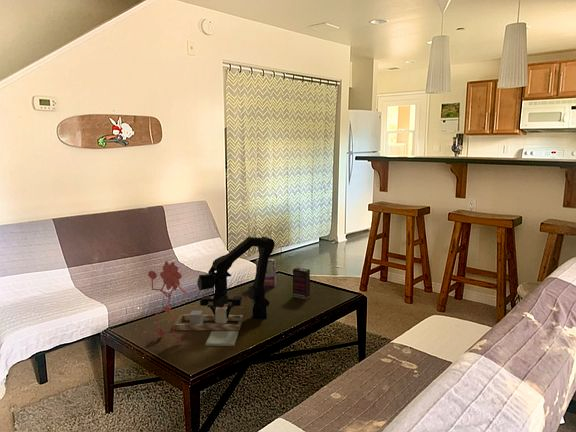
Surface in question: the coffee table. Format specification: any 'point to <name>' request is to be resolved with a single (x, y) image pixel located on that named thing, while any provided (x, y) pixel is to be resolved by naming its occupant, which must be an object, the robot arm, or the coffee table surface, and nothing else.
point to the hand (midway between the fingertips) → (221, 318)
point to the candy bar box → (270, 273)
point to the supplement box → (301, 283)
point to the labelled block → (221, 315)
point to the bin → (209, 326)
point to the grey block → (196, 317)
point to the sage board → (222, 338)
